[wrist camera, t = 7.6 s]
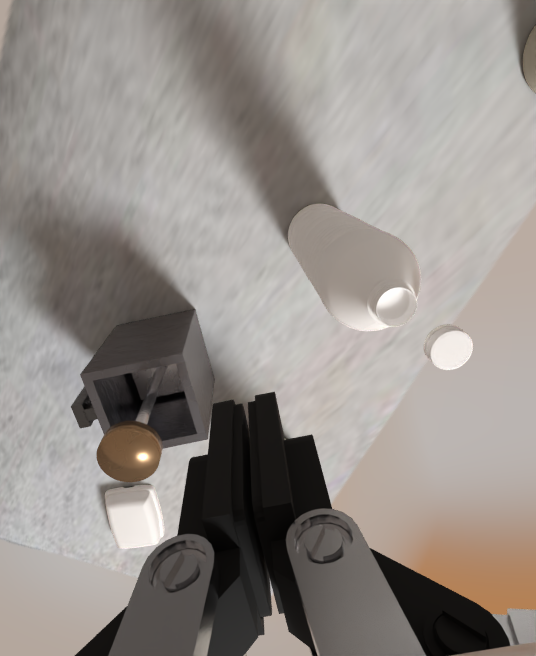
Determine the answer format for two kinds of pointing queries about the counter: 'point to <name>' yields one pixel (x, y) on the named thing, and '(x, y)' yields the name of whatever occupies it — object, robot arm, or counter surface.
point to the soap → (134, 516)
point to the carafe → (141, 354)
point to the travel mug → (530, 60)
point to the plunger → (138, 430)
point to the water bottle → (367, 278)
